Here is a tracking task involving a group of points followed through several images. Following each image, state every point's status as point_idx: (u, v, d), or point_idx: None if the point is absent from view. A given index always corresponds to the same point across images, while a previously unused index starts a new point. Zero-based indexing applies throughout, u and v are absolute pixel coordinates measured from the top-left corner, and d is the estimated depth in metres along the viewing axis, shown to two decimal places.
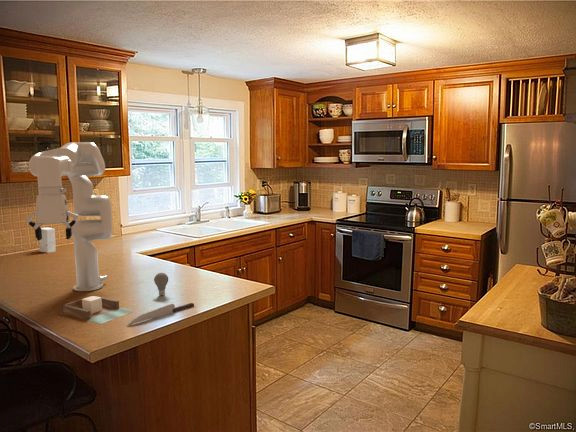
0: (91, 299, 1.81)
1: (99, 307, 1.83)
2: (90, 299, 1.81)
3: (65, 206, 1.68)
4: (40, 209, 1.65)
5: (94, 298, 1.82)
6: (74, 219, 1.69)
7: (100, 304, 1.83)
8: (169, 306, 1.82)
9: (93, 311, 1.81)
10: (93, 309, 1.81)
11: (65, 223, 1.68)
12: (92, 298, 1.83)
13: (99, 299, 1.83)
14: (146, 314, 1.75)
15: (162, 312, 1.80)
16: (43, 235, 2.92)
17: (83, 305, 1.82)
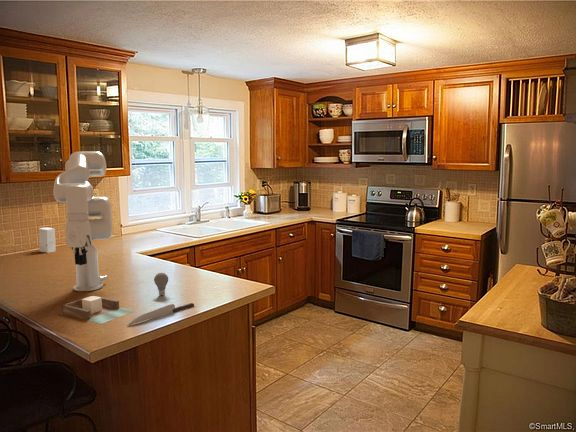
0: (91, 299, 1.81)
1: (99, 307, 1.83)
2: (90, 299, 1.81)
3: None
4: None
5: (94, 298, 1.82)
6: None
7: (100, 304, 1.83)
8: (169, 306, 1.82)
9: (93, 311, 1.81)
10: (93, 309, 1.81)
11: None
12: (92, 298, 1.83)
13: (99, 299, 1.83)
14: (146, 314, 1.75)
15: (162, 312, 1.80)
16: (43, 235, 2.92)
17: (83, 305, 1.82)
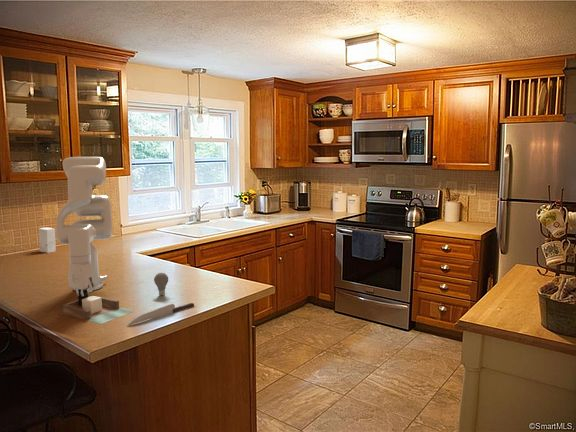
0: (91, 299, 1.81)
1: (99, 307, 1.83)
2: (90, 299, 1.81)
3: None
4: None
5: (94, 298, 1.82)
6: None
7: (100, 304, 1.83)
8: (169, 306, 1.82)
9: (93, 311, 1.81)
10: (93, 309, 1.81)
11: None
12: (92, 298, 1.83)
13: (99, 299, 1.83)
14: (146, 314, 1.75)
15: (162, 312, 1.80)
16: (43, 235, 2.92)
17: (83, 305, 1.82)
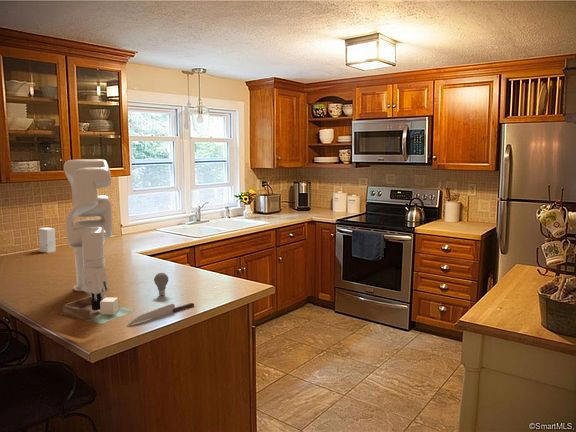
0: (110, 300, 1.80)
1: (117, 307, 1.83)
2: (109, 300, 1.80)
3: None
4: None
5: (113, 299, 1.81)
6: None
7: (117, 304, 1.83)
8: (169, 306, 1.82)
9: (114, 311, 1.80)
10: (114, 310, 1.80)
11: None
12: (109, 299, 1.81)
13: (117, 299, 1.82)
14: (146, 314, 1.75)
15: (162, 312, 1.80)
16: (43, 235, 2.92)
17: (102, 307, 1.79)
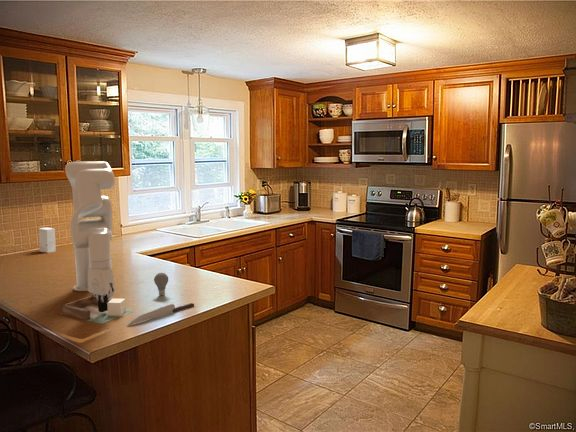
0: (118, 301, 1.79)
1: (124, 308, 1.81)
2: (116, 301, 1.79)
3: None
4: None
5: (120, 300, 1.80)
6: None
7: (125, 305, 1.82)
8: (169, 306, 1.82)
9: (122, 312, 1.79)
10: (122, 311, 1.79)
11: None
12: (117, 300, 1.80)
13: (124, 300, 1.81)
14: (146, 314, 1.75)
15: (162, 312, 1.80)
16: (43, 235, 2.92)
17: (109, 308, 1.78)
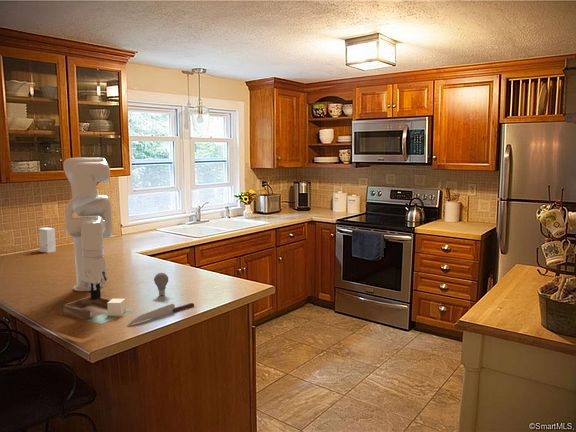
0: (118, 301, 1.79)
1: (124, 308, 1.81)
2: (116, 301, 1.79)
3: None
4: None
5: (120, 300, 1.80)
6: None
7: (125, 305, 1.82)
8: (169, 306, 1.82)
9: (122, 312, 1.79)
10: (122, 311, 1.79)
11: None
12: (117, 300, 1.80)
13: (124, 300, 1.81)
14: (146, 314, 1.75)
15: (162, 312, 1.80)
16: (43, 235, 2.92)
17: (109, 308, 1.78)
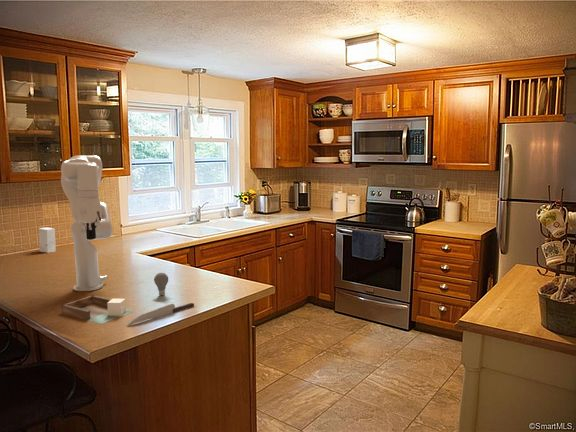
0: (118, 301, 1.79)
1: (124, 308, 1.81)
2: (116, 301, 1.79)
3: None
4: None
5: (120, 300, 1.80)
6: None
7: (125, 305, 1.82)
8: (169, 306, 1.82)
9: (122, 312, 1.79)
10: (122, 311, 1.79)
11: None
12: (117, 300, 1.80)
13: (124, 300, 1.81)
14: (146, 314, 1.75)
15: (162, 312, 1.80)
16: (43, 235, 2.92)
17: (109, 308, 1.78)
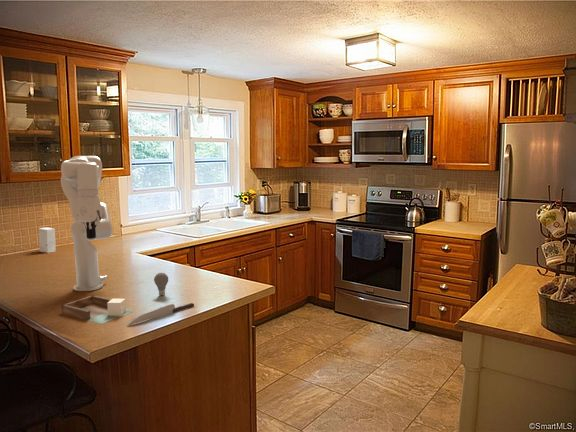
0: (118, 301, 1.79)
1: (124, 308, 1.81)
2: (116, 301, 1.79)
3: None
4: None
5: (120, 300, 1.80)
6: None
7: (125, 305, 1.82)
8: (169, 306, 1.82)
9: (122, 312, 1.79)
10: (122, 311, 1.79)
11: None
12: (117, 300, 1.80)
13: (124, 300, 1.81)
14: (146, 314, 1.75)
15: (162, 312, 1.80)
16: (43, 235, 2.92)
17: (109, 308, 1.78)
